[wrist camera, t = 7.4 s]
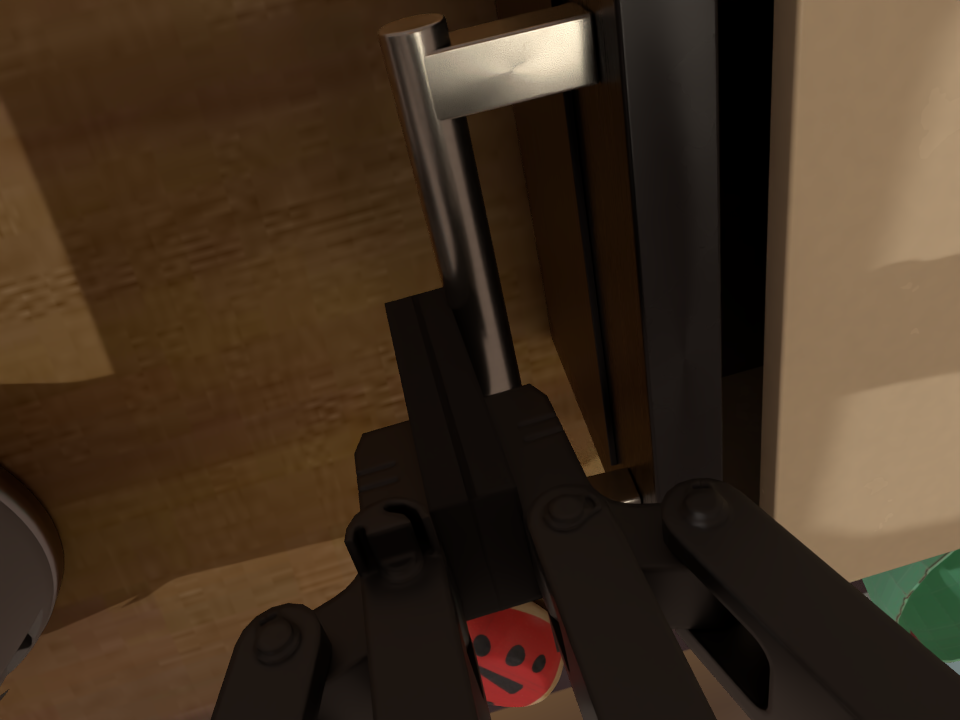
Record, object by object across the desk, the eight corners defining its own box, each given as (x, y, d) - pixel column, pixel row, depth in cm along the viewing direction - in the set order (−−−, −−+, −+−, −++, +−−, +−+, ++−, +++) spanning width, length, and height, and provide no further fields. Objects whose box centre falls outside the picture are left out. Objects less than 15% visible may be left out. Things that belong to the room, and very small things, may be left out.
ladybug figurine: (506, 685, 46) (520, 741, 43) (383, 631, 41) (389, 690, 38) (587, 623, 44) (607, 677, 41) (469, 558, 39) (482, 614, 36)
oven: (592, 326, 32) (770, 608, 20) (526, -177, 22) (809, -225, 10) (937, 229, 33) (1309, 443, 21) (1028, -299, 23) (1862, -483, 11)
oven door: (470, 358, 32) (538, 662, 20) (347, -134, 22) (335, -112, 10) (588, 330, 32) (725, 617, 20) (520, -176, 22) (718, -204, 10)
